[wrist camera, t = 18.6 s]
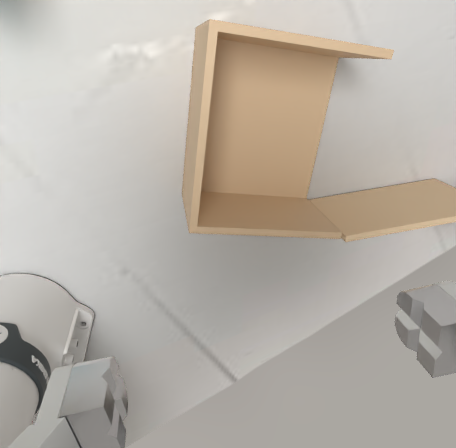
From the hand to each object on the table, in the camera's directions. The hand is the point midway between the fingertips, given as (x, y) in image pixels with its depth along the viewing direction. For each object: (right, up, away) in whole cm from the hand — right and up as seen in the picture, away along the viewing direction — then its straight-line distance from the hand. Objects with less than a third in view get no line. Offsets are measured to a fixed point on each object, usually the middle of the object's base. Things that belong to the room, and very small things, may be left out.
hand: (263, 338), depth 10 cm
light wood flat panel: (+21, +8, +44) cm, 49 cm away
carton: (+3, +16, +37) cm, 40 cm away
